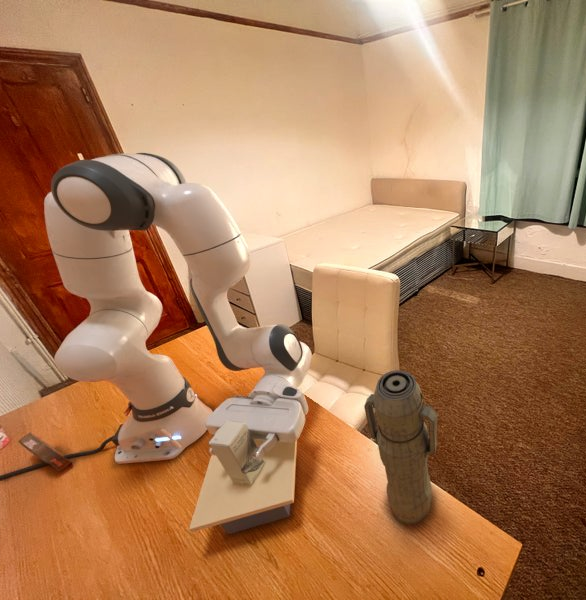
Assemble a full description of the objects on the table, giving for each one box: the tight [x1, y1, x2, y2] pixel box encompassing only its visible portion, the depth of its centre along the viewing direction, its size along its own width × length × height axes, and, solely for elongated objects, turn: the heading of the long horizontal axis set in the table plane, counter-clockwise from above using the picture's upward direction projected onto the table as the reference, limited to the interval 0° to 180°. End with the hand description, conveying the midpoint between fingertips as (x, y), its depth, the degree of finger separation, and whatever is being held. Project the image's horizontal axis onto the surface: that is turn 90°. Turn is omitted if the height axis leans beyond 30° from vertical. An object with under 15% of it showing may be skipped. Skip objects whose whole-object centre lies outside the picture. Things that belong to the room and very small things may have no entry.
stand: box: [188, 439, 298, 535], centre depth 65 cm, size 18×16×9 cm
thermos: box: [363, 369, 438, 525], centre depth 55 cm, size 9×12×35 cm
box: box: [208, 420, 265, 485], centre depth 60 cm, size 5×4×13 cm
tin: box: [18, 431, 73, 472], centre depth 77 cm, size 15×3×8 cm, turn 65°
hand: (234, 456), depth 59 cm, fingers open, 8 cm apart
